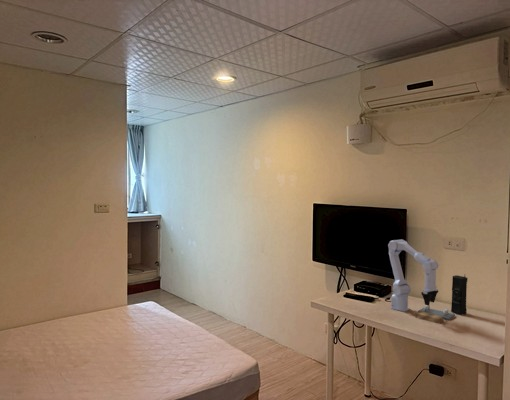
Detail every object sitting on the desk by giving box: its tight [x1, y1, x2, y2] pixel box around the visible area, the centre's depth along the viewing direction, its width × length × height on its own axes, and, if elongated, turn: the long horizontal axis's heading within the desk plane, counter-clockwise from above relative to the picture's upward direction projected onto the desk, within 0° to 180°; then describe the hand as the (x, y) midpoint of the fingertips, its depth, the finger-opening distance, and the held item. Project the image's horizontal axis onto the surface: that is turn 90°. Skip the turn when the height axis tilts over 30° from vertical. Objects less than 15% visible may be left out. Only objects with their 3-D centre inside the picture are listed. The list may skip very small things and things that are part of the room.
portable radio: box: [450, 274, 468, 316], centre depth 229 cm, size 8×6×25 cm
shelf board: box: [414, 310, 444, 324], centre depth 219 cm, size 14×6×3 cm, turn 44°
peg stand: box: [418, 304, 456, 321], centre depth 226 cm, size 18×10×4 cm, turn 44°
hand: (429, 303), depth 219 cm, fingers open, 7 cm apart
